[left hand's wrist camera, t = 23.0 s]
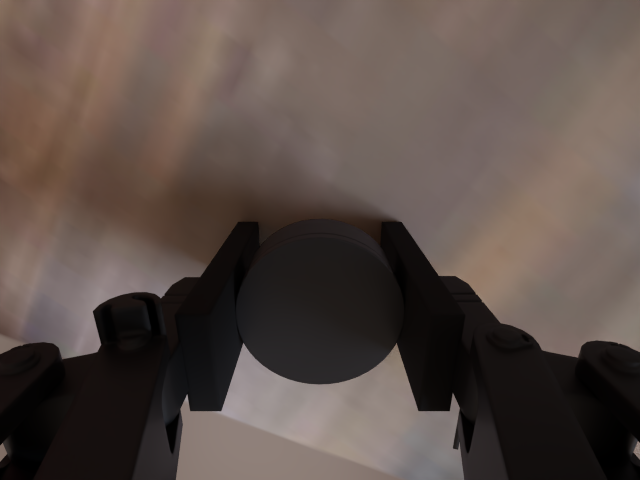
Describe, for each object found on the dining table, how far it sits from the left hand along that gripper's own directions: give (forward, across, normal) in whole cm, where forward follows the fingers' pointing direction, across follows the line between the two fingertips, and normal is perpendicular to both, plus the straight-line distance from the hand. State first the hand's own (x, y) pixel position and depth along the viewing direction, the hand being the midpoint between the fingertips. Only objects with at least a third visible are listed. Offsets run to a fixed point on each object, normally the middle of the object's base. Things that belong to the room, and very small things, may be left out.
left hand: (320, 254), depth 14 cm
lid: (-4, 0, 0) cm, 4 cm away
